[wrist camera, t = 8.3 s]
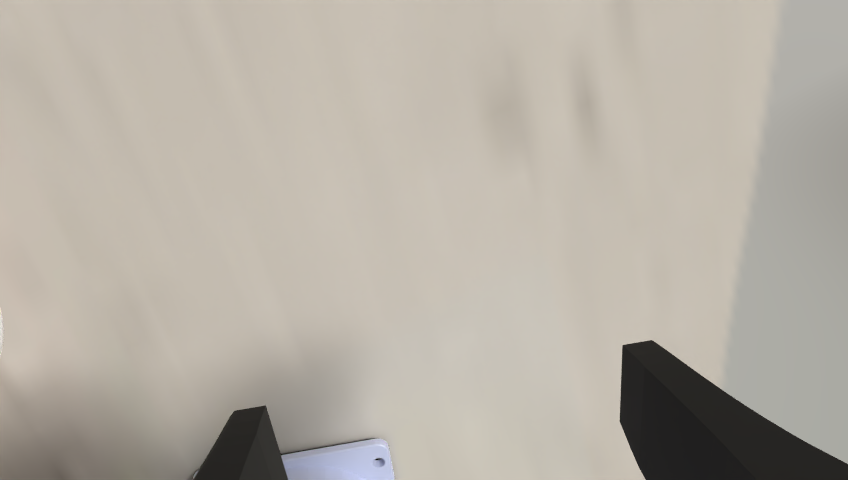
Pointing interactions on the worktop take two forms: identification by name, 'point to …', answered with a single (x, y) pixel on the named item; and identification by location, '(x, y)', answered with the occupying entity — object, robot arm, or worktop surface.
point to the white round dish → (1, 332)
